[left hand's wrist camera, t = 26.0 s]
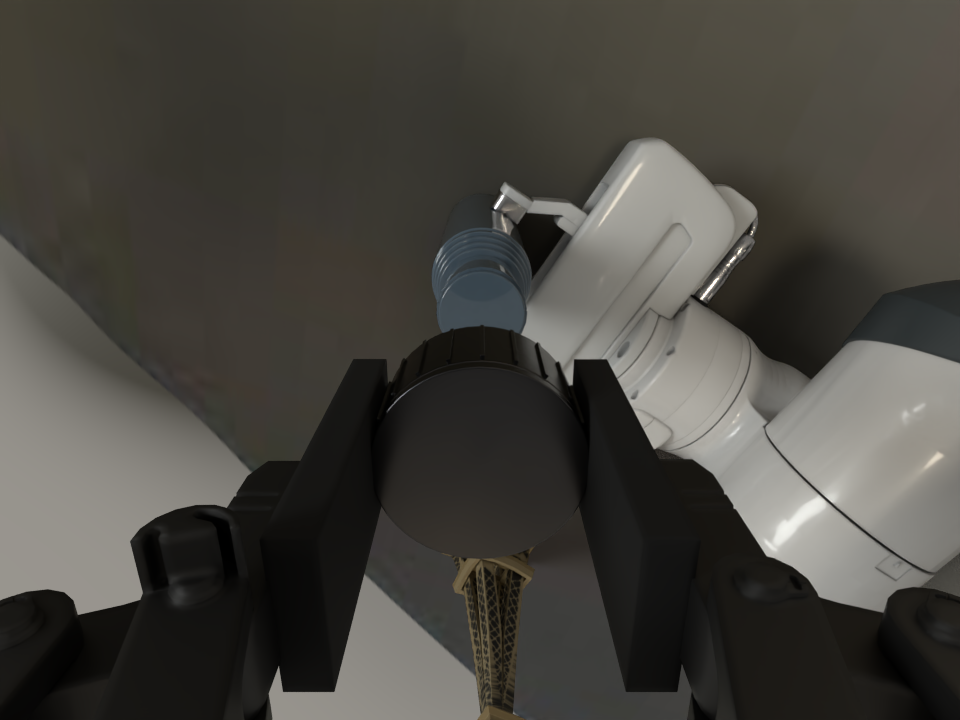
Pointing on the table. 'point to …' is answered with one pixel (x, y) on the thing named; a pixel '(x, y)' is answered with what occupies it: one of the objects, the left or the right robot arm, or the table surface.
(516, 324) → the bottle
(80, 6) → the table surface
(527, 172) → the table surface
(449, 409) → the cap
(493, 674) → the eiffel tower
